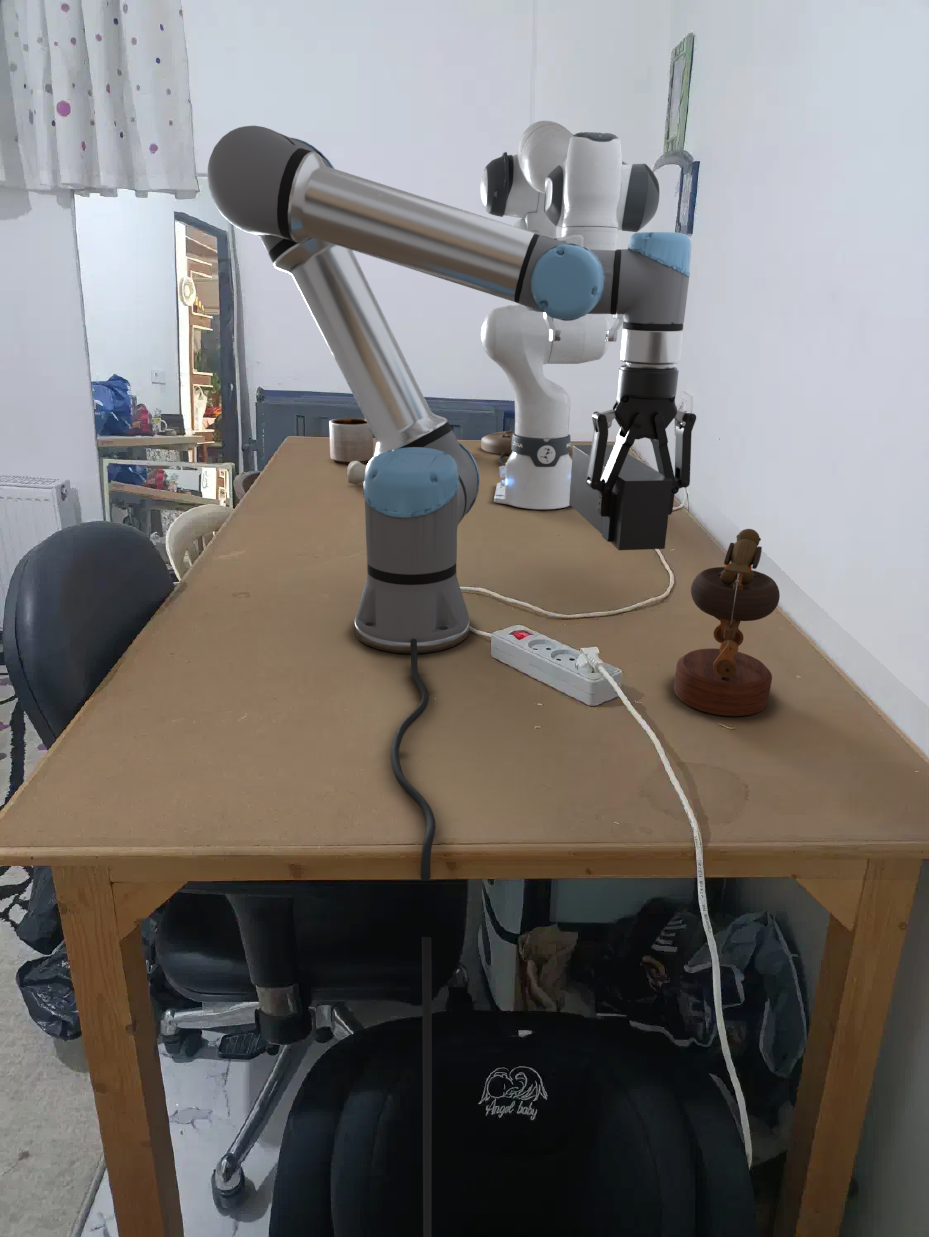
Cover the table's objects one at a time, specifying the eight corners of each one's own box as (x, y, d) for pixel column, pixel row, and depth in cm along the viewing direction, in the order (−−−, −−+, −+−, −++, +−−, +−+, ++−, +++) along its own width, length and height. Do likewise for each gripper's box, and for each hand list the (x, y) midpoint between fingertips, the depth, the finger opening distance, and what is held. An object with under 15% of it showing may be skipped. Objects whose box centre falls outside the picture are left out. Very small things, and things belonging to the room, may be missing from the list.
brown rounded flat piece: (486, 464, 211) (486, 447, 210) (479, 443, 237) (479, 428, 235) (569, 465, 212) (571, 448, 211) (554, 443, 238) (554, 428, 236)
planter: (327, 456, 217) (325, 418, 214) (369, 454, 220) (368, 417, 217) (334, 465, 208) (332, 425, 204) (377, 463, 211) (376, 424, 207)
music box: (786, 726, 90) (801, 547, 83) (681, 727, 92) (686, 551, 84) (757, 665, 104) (767, 507, 97) (666, 666, 106) (669, 511, 98)
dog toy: (434, 479, 195) (434, 457, 194) (437, 485, 190) (437, 463, 188) (346, 480, 192) (345, 459, 190) (347, 487, 187) (346, 464, 185)
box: (664, 548, 114) (672, 480, 110) (618, 550, 113) (625, 481, 109) (607, 503, 136) (612, 444, 133) (569, 504, 135) (572, 445, 132)
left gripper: (708, 362, 113) (688, 528, 122) (567, 361, 110) (557, 532, 119) (733, 368, 106) (710, 543, 115) (584, 368, 103) (571, 548, 112)
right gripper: (644, 250, 137) (637, 340, 142) (521, 248, 134) (518, 339, 139) (659, 249, 131) (650, 343, 136) (530, 246, 128) (527, 342, 133)
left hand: (632, 537), depth 117 cm, fingers closed on box, 6 cm apart
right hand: (582, 341), depth 138 cm, fingers open, 8 cm apart
